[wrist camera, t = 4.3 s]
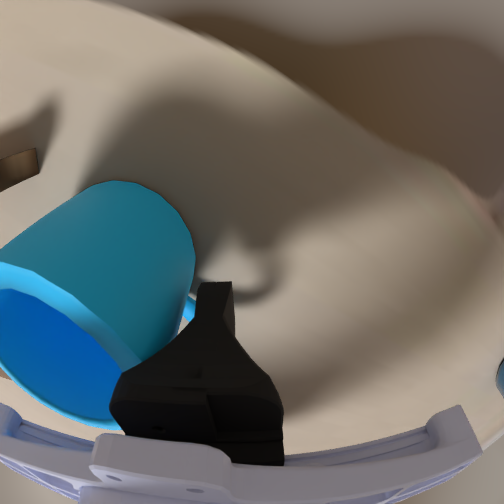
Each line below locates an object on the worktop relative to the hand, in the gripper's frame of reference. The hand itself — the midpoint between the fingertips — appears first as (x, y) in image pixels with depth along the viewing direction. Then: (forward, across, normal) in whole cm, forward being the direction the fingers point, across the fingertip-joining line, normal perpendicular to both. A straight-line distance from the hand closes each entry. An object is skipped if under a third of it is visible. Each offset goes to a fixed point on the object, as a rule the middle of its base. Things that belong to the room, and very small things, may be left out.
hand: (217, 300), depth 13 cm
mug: (+3, +4, 0) cm, 5 cm away
